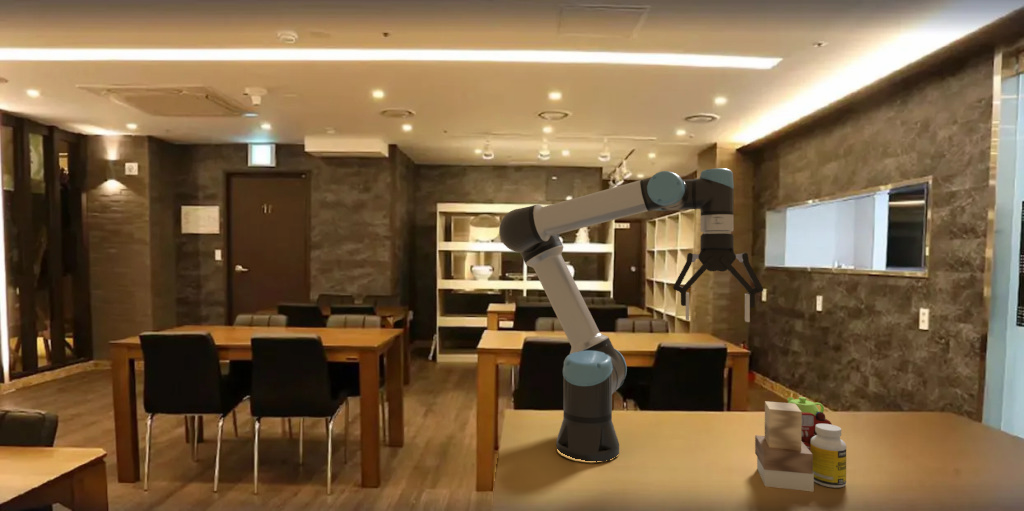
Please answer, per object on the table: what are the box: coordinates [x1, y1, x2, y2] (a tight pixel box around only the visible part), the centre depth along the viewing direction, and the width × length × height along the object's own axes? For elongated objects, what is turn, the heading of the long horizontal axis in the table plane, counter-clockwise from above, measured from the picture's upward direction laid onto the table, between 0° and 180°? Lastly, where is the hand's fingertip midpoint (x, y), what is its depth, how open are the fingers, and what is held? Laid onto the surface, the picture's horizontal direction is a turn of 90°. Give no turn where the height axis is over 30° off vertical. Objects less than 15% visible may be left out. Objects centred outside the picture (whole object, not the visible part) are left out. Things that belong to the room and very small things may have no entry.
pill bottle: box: [810, 423, 847, 489], centre depth 110 cm, size 6×6×12 cm
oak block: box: [764, 400, 802, 451], centre depth 111 cm, size 6×6×8 cm
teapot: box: [787, 396, 827, 419], centre depth 143 cm, size 11×12×8 cm
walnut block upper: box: [754, 434, 813, 474], centre depth 111 cm, size 9×9×4 cm
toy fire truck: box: [801, 412, 833, 450], centre depth 124 cm, size 7×12×10 cm, turn 87°
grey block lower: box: [756, 456, 815, 492], centre depth 111 cm, size 9×9×4 cm
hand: (716, 320), depth 127 cm, fingers open, 13 cm apart
